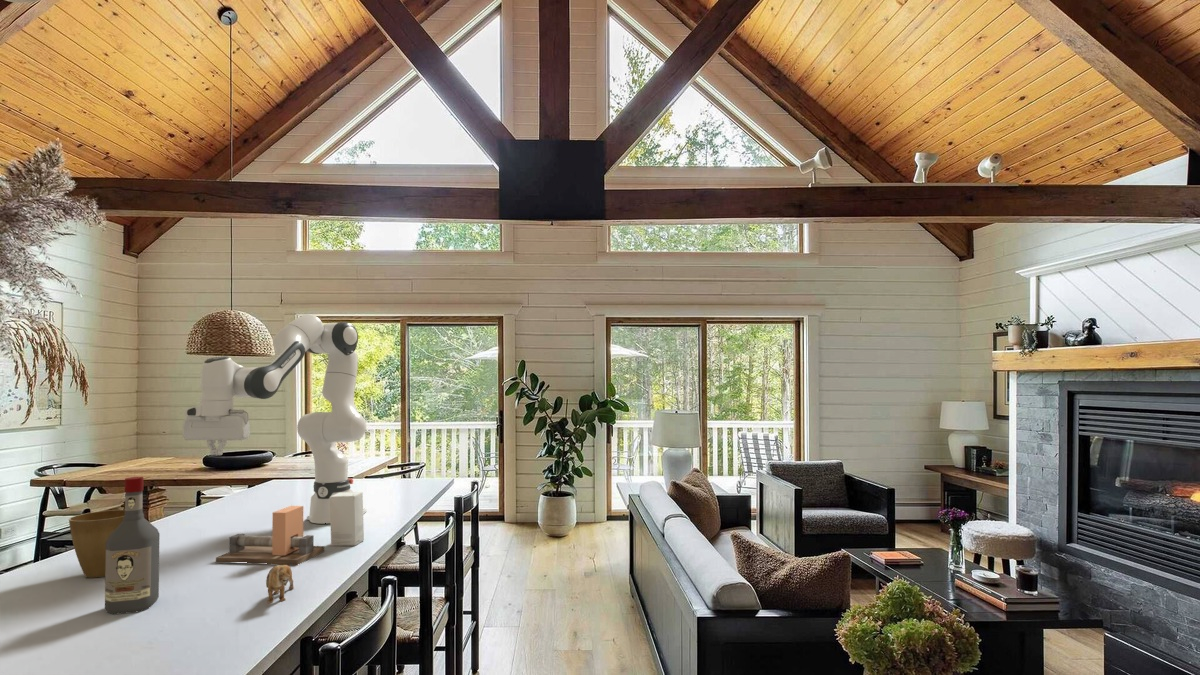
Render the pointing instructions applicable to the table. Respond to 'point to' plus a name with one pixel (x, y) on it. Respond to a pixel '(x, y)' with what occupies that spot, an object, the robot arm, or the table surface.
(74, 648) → the table surface
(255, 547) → the pipe stand
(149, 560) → the liquor
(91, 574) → the plant pot
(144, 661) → the table surface
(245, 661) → the table surface
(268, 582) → the lion figurine
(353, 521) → the skincare box
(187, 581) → the table surface
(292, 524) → the notched orange block
